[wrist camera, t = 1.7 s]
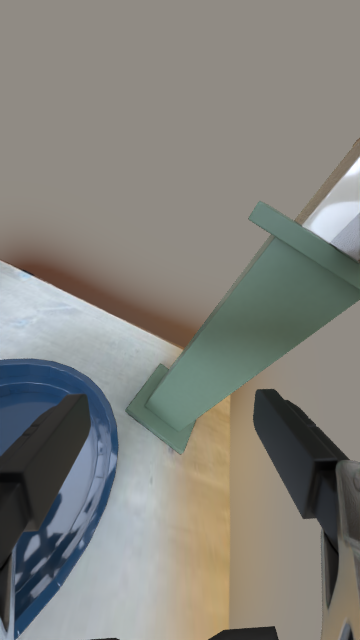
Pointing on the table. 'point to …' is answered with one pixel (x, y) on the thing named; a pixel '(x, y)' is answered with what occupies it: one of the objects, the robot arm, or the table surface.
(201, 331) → the stand
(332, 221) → the mallet with brown handle
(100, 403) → the bowl
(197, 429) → the table surface
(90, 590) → the table surface
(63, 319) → the table surface
